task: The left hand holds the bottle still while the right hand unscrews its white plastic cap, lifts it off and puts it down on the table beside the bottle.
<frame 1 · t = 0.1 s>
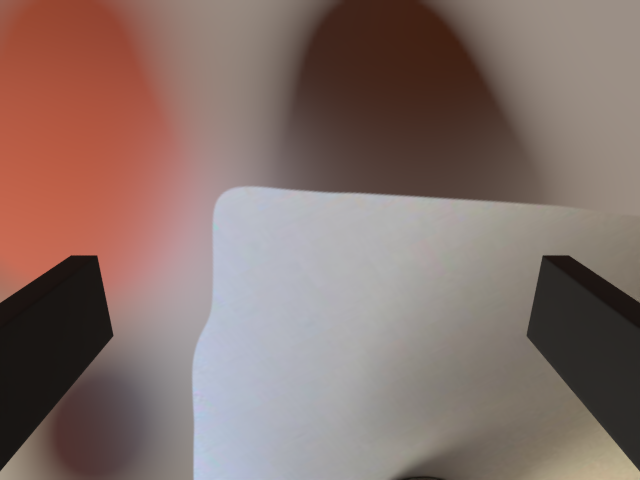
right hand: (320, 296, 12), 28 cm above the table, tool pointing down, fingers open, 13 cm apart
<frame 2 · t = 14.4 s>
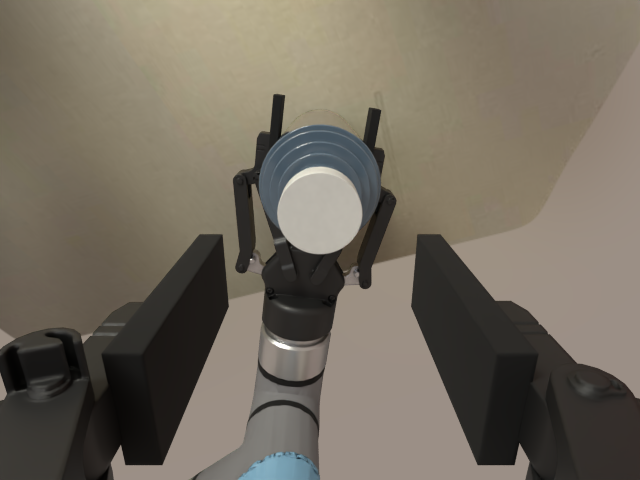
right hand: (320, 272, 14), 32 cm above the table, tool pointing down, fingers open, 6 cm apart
left hand: (327, 102, 36), fingers closed on bottle, 8 cm apart
cap: (319, 213, 21), point 25 cm above the table, screwed on, not yet turned
bottle: (319, 147, 44), on the table, touching left hand
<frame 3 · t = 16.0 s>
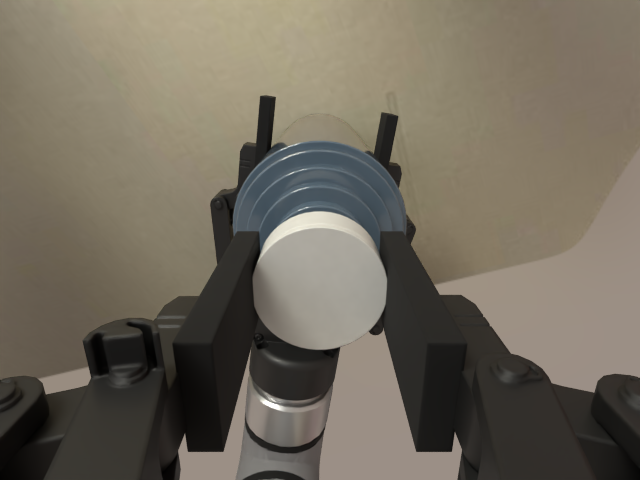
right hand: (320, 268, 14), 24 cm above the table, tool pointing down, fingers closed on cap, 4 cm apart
cap: (319, 287, 13), point 25 cm above the table, screwed on, not yet turned, touching right hand
bottle: (319, 159, 36), on the table, touching left hand
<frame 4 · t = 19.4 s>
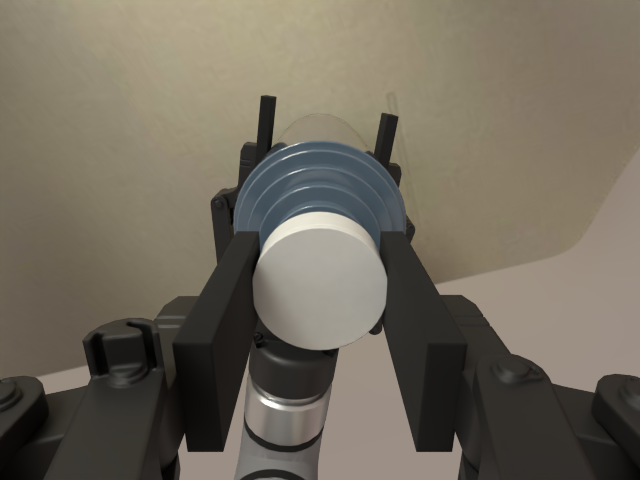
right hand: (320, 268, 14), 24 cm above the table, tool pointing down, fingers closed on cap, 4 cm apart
cap: (319, 288, 13), point 25 cm above the table, turned 100° so far, risen 0.1 cm, still on its thread, touching right hand
bottle: (319, 159, 36), on the table, touching left hand
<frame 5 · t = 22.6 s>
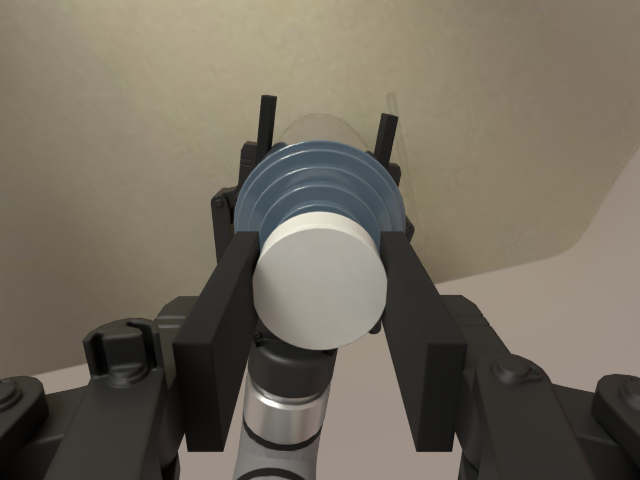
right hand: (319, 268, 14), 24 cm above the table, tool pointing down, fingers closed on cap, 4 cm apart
cap: (319, 288, 13), point 25 cm above the table, turned 201° so far, risen 0.2 cm, still on its thread, touching right hand
bottle: (319, 159, 37), on the table, touching left hand
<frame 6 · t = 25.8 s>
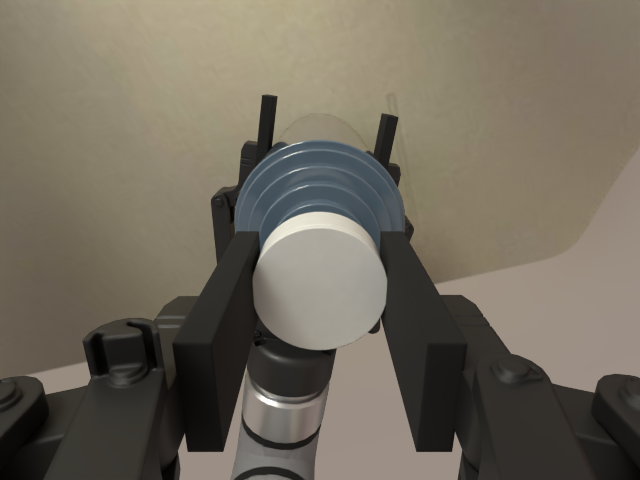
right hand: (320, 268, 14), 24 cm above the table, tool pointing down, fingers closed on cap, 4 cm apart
cap: (319, 288, 13), point 25 cm above the table, turned 301° so far, risen 0.3 cm, still on its thread, touching right hand
bottle: (319, 158, 37), on the table, touching left hand
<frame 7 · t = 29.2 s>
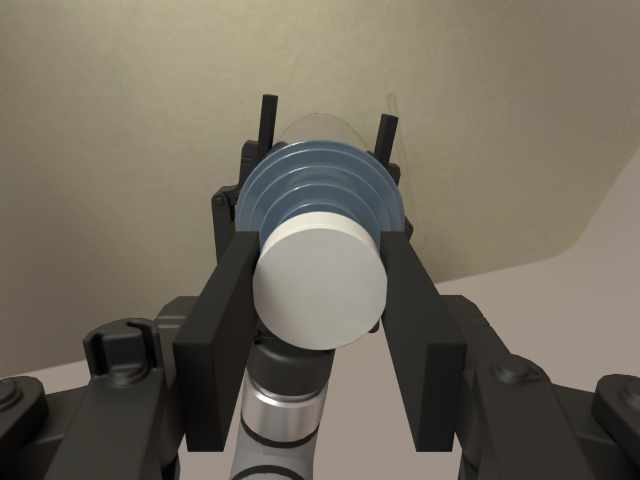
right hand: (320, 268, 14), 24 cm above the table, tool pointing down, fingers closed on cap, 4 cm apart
cap: (320, 288, 13), point 25 cm above the table, turned 401° so far, risen 0.5 cm, still on its thread, touching right hand
bottle: (319, 158, 37), on the table, touching left hand
when the right hand's fingers open (1 cm above the table, at t = 36.6 s): cap stays where it is, point 1 cm above the table.
when the left hand's fingers open (7 cm above the table, at t = 37.9 s): bottle stays where it is, on the table.
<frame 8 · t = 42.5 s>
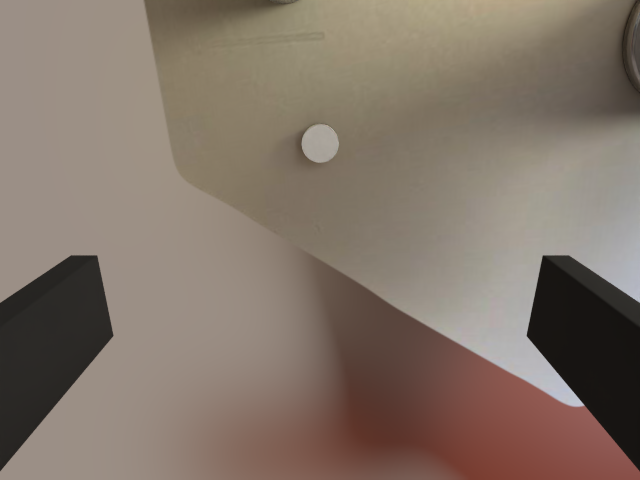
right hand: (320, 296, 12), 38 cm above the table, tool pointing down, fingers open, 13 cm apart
cap: (320, 143, 47), point 1 cm above the table, off its thread
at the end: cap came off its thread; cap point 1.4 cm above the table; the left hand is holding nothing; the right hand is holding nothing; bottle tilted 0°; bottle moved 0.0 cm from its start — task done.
